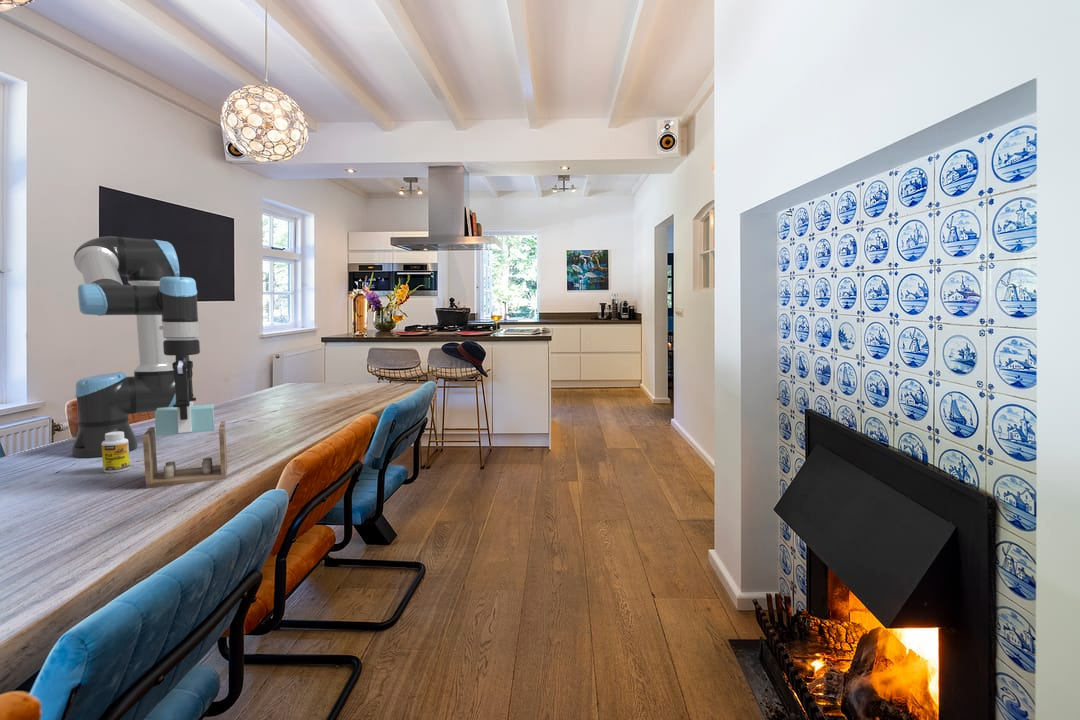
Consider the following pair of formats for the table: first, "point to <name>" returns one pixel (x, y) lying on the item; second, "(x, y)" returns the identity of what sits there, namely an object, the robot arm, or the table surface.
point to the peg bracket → (184, 475)
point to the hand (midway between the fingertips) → (186, 429)
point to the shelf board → (199, 420)
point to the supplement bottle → (115, 452)
